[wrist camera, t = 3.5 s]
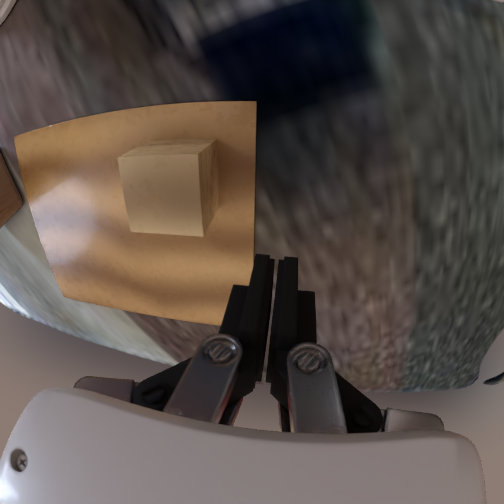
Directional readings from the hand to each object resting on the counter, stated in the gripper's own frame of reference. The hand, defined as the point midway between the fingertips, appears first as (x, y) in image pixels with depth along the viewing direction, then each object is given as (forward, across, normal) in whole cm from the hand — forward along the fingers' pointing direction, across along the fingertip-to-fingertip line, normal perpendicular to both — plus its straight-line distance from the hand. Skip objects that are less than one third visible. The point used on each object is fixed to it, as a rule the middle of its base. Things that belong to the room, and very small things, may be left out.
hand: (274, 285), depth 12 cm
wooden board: (+13, +16, +6) cm, 22 cm away
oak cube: (+13, +8, 0) cm, 15 cm away
